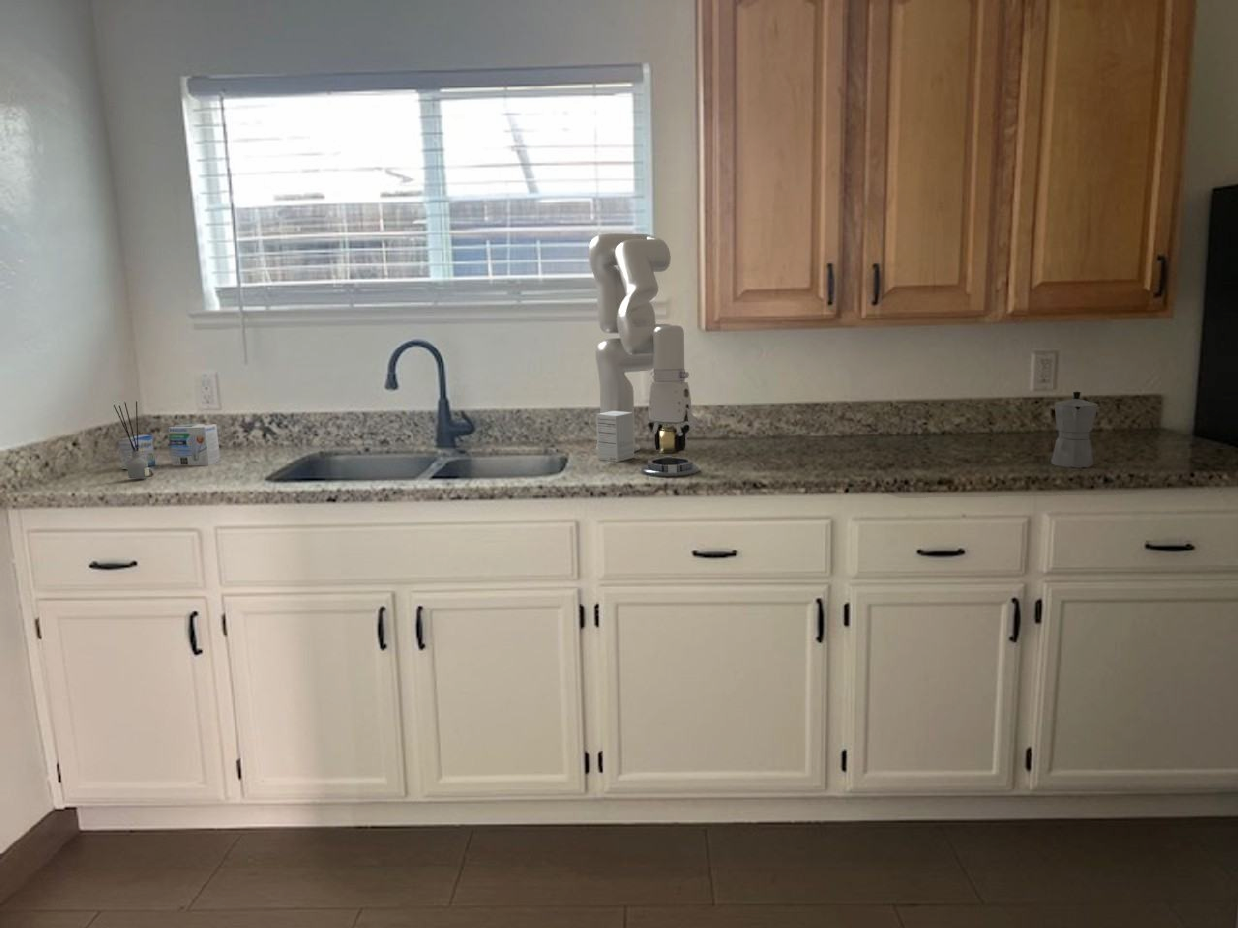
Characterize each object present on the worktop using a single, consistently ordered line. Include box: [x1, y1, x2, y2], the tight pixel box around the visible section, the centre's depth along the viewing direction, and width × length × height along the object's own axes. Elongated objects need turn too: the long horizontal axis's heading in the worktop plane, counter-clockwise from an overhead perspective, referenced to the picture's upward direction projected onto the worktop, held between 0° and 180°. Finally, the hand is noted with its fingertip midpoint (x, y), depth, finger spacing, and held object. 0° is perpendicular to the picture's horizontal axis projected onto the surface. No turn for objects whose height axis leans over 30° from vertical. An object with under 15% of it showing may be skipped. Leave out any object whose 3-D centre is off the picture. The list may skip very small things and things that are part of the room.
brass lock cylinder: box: [658, 425, 681, 455], centre depth 218 cm, size 5×5×6 cm
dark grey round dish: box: [641, 455, 699, 478], centre depth 219 cm, size 14×14×3 cm
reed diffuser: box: [113, 401, 156, 479], centre depth 224 cm, size 10×7×20 cm
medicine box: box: [117, 434, 156, 469], centre depth 242 cm, size 8×4×9 cm, turn 170°
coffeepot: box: [1050, 391, 1099, 469], centre depth 216 cm, size 15×9×18 cm, turn 157°
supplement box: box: [595, 411, 635, 463], centre depth 237 cm, size 7×7×13 cm
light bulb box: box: [168, 423, 221, 467], centre depth 246 cm, size 11×7×11 cm, turn 87°
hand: (670, 449), depth 218 cm, fingers closed on brass lock cylinder, 5 cm apart
